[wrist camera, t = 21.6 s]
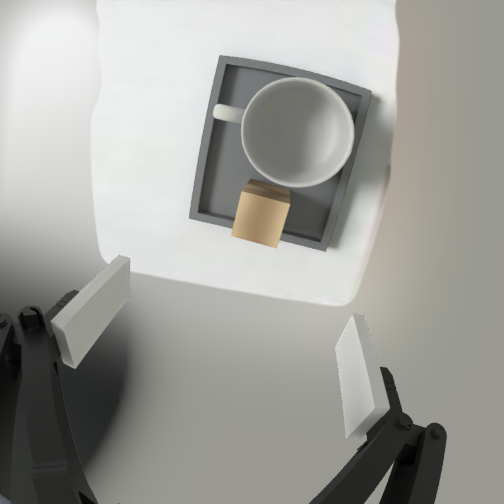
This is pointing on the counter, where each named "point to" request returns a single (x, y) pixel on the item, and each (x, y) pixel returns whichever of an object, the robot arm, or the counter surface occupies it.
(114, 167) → the counter surface
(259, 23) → the counter surface
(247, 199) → the oak block
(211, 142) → the tray
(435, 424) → the robot arm
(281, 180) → the teacup
